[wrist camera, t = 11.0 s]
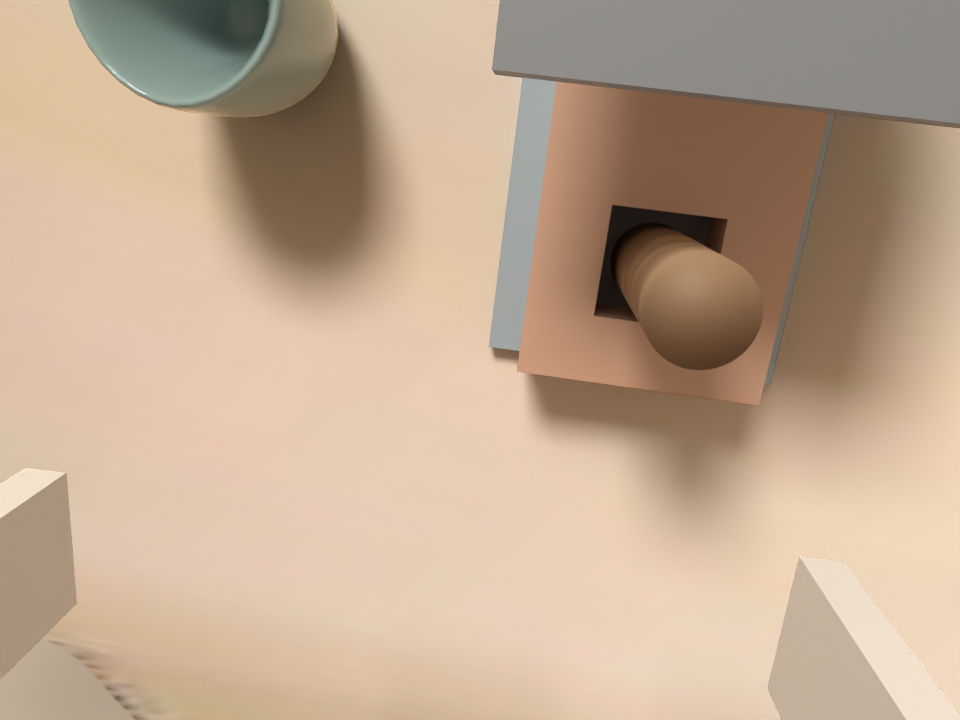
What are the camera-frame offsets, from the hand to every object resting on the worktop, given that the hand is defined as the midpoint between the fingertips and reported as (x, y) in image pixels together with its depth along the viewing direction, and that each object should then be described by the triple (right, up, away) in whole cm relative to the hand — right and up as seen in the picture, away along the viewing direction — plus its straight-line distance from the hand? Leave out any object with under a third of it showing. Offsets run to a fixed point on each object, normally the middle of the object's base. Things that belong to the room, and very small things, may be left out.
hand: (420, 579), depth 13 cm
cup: (-9, +19, +22) cm, 31 cm away
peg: (+9, +8, +21) cm, 24 cm away
